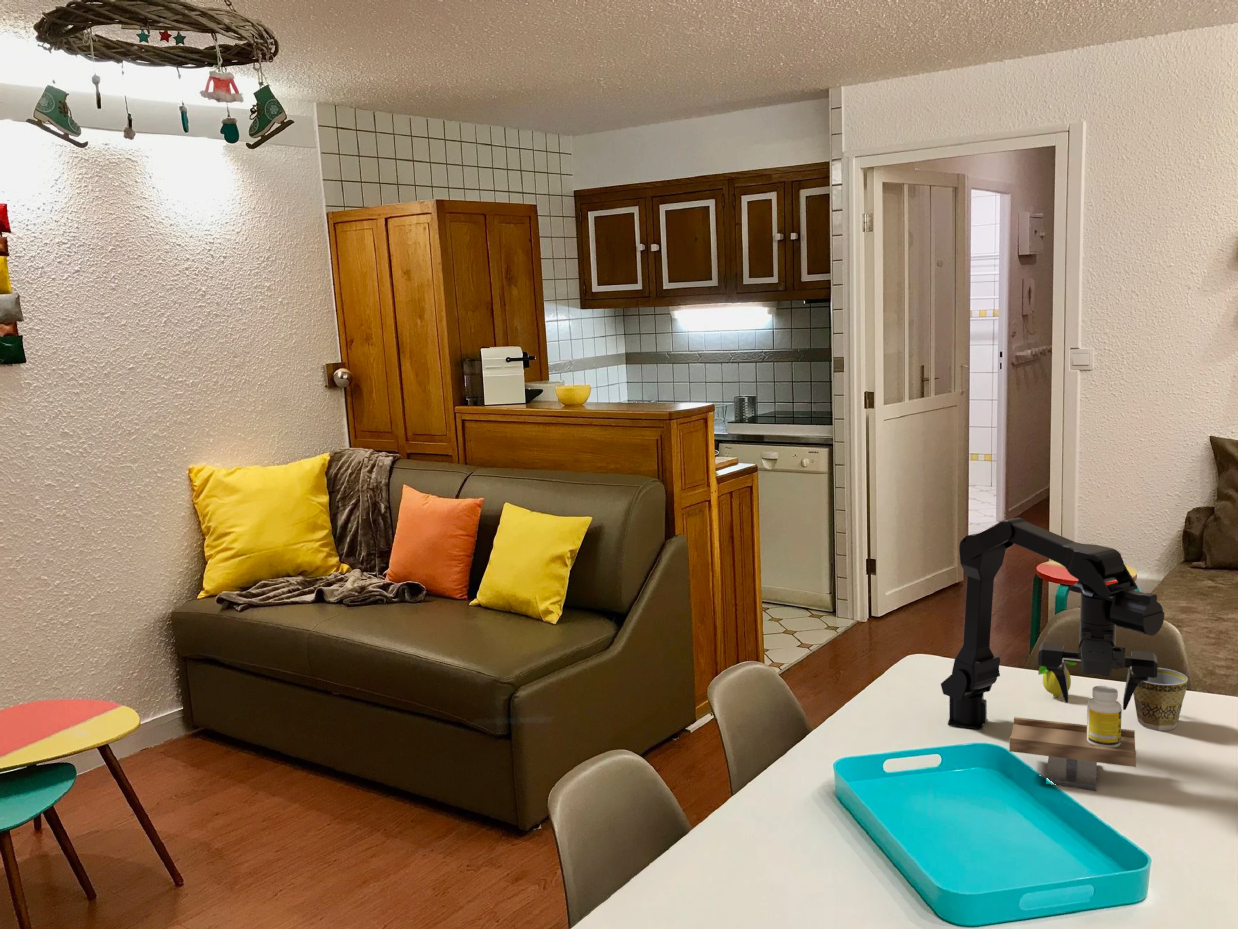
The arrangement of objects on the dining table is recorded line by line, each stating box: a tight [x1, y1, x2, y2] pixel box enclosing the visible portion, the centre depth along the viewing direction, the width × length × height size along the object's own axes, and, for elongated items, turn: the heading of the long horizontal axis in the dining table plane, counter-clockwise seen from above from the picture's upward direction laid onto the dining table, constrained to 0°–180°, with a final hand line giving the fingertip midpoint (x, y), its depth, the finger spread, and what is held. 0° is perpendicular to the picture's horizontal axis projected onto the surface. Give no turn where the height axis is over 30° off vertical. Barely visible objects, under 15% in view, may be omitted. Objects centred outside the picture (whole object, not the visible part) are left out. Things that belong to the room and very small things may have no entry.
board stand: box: [1045, 756, 1098, 792], centre depth 182 cm, size 8×11×4 cm
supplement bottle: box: [1086, 685, 1123, 748], centre depth 179 cm, size 5×5×10 cm
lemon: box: [1037, 661, 1077, 698], centre depth 217 cm, size 7×6×10 cm
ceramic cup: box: [1132, 667, 1189, 732], centre depth 202 cm, size 13×10×10 cm
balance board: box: [1008, 716, 1137, 768], centre depth 182 cm, size 20×10×2 cm, turn 65°
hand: (1095, 705), depth 181 cm, fingers open, 9 cm apart
